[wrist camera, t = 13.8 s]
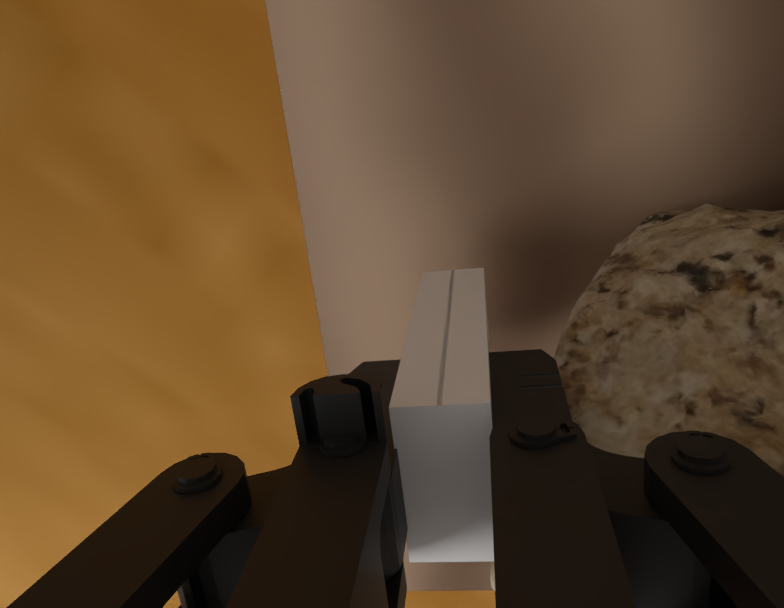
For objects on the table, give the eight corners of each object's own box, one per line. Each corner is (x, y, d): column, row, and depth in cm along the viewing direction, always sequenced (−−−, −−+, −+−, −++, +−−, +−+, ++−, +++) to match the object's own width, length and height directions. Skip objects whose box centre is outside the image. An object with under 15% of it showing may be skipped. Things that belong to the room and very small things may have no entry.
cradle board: (369, 564, 22) (364, 591, 21) (265, -80, 16) (249, -91, 15) (1131, 552, 19) (1173, 583, 18) (1381, -267, 12) (1469, -298, 11)
